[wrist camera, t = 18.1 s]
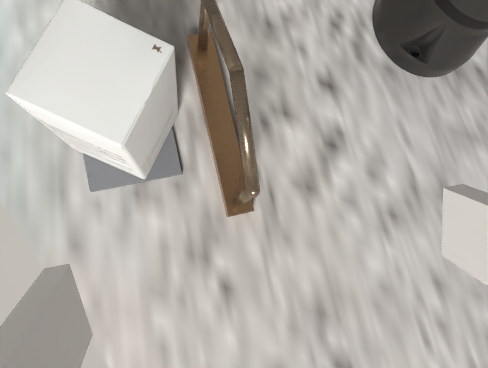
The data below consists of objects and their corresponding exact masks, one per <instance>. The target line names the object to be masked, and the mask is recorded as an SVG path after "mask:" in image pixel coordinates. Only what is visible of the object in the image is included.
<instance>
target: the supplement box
mask: <svg viewBox="0 0 488 368" xmlns="http://www.w3.org/2000/svg"><path fill="white" fill-rule="evenodd" d="M5 93H6V94H7V95H8V96H9V97H11V98H12V99H13V100H14V101H15V102H17V103H18V104H19V105H20V106H21V107H23V108H24V109H25V110H26V111H28V112H29V113H30V114H31V115H33V116H34V117H35V118H36V119H38V120H39V121H40V122H41V123H43V124H44V125H45V126H46V127H48V128H49V129H50V130H51V131H53V132H54V133H55V134H56V135H57V136H59V137H60V138H61V139H62V140H64V141H65V142H66V143H67V144H68V145H70V146H71V147H72V148H73V149H75V150H78V151H80V152H82V153H84V154H87V155H89V156H91V157H93V158H96V159H98V160H100V161H103V162H105V163H107V164H109V165H112V166H114V167H116V168H119V169H121V170H123V171H125V172H128V173H130V174H132V175H134V176H137V177H139V178H141V179H146V177H147V176H148V174H149V172H150V170H151V168H152V166H153V164H154V162H155V160H156V158H157V156H158V154H159V152H160V150H161V148H162V146H163V144H164V142H165V140H166V138H167V136H168V134H169V132H170V130H171V128H172V126H173V124H174V122H175V120H176V118H177V116H178V99H177V82H176V65H175V48H174V46H173V45H171V44H169V43H167V42H164V41H162V40H160V39H158V38H156V37H154V36H152V35H150V34H148V33H145V32H143V31H141V30H139V29H137V28H135V27H133V26H131V25H129V24H127V23H124V22H122V21H120V20H118V19H116V18H114V17H112V16H110V15H108V14H106V13H104V12H102V11H100V10H98V9H96V8H94V7H92V6H90V5H88V4H86V3H84V2H82V1H80V0H63V2H62V3H61V5H60V7H59V8H58V10H57V11H56V13H55V14H54V16H53V18H52V19H51V21H50V22H49V24H48V26H47V27H46V29H45V30H44V32H43V33H42V35H41V37H40V38H39V40H38V41H37V43H36V45H35V46H34V48H33V49H32V51H31V53H30V54H29V56H28V57H27V59H26V61H25V62H24V64H23V65H22V67H21V69H20V70H19V72H18V74H17V75H16V77H15V78H14V80H13V82H12V83H11V85H10V86H9V88H8V89H7V91H6V92H5Z"/></svg>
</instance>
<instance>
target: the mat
mask: <svg viewBox="0 0 488 368" xmlns="http://www.w3.org/2000/svg"><path fill="white" fill-rule="evenodd" d="M83 155H84V161H85V166H86V171H87V177H88V182H89V188H90V192H94V191H100V190H105V189H110V188H115V187H120V186H125V185H130V184H135V183H140V182H145V181H150V180H155V179H160V178H165V177H170V176H175V175H181V174H182V171H181V166H180V162H179V157H178V152H177V148H176V143H175V138H174V134H173V129H172V128H171V130H170V132H169V134H168V136H167V138H166V140H165V142H164V144H163V146H162V148H161V150H160V152H159V154H158V156H157V158H156V160H155V162H154V164H153V166H152V168H151V170H150V172H149V174H148V176H147V177H146V179H141V178H139V177H137V176H134V175H132V174H130V173H128V172H125V171H123V170H121V169H119V168H116V167H114V166H112V165H109V164H107V163H105V162H103V161H100V160H98V159H96V158H93V157H91V156H89V155H87V154H84V153H83Z"/></svg>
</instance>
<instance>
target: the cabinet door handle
mask: <svg viewBox="0 0 488 368" xmlns="http://www.w3.org/2000/svg"><path fill="white" fill-rule="evenodd" d="M210 25H211V26H212V28H213V31H214V34H215V36H216V39H217V42H218V44H219V47H220V50H221V52H222V55H223V57H224V60H225V63H226V65H227V68H228V71H229V74H230V81H231V88H232V95H233V101H234V108H235V115H236V122H237V128H238V135H239V142H240V148H239V144H238V140H237V136H236V131H235V127H234V123H233V119H232V115H231V110H230V106H229V102H228V98H227V93H226V89H225V85H224V81H223V77H222V72H221V68H220V64H219V60H218V55H217V51H216V47H215V43H214V39H213V34H212V33H209V32H210ZM187 43H188V48H189V52H190V57H191V61H192V65H193V70H194V74H195V79H196V83H197V87H198V92H199V96H200V101H201V105H202V109H203V114H204V118H205V123H206V127H207V131H208V136H209V140H210V145H211V149H212V153H213V158H214V162H215V167H216V171H217V175H218V180H219V184H220V189H221V193H222V197H223V202H224V206H225V211H226V215H227V217H230V216H235V215H239V214H244V213H248V212H252V211H254V208H253V203H252V199H253V198H254V197H256V196H258V195H259V193H260V185H259V178H258V170H257V163H256V156H255V149H254V141H253V134H252V127H251V119H250V112H249V105H248V97H247V90H246V83H245V76H244V69H243V66H242V64H241V61H240V59H239V56H238V54H237V51H236V49H235V47H234V44H233V42H232V39H231V37H230V34H229V32H228V30H227V27H226V25H225V22H224V20H223V17H222V15H221V13H220V10H219V8H218V5H217V3H216V0H201V8H200V21H199V33H198V35H189V36H187ZM240 149H241V153H240ZM241 155H242V157H241Z"/></svg>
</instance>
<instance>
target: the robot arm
mask: <svg viewBox="0 0 488 368" xmlns="http://www.w3.org/2000/svg"><path fill="white" fill-rule="evenodd" d="M373 26H374V31H375V34H376V37H377V40H378V42H379V44H380V46H381V47H382V49H383V50H384V52H385V53H386V54H387V56H388V57H389V58H390V59H391V60H392V61H393V62H394V63H395V64H397V65H398V66H399V67H401V68H402V69H404V70H406V71H408V72H410V73H412V74H415V75H418V76H423V77H438V76H443V75H446V74H448V73H450V72H452V71H453V70H455V69H456V68H458V67H460V66H461V65H463V64H464V63H466V62H467V61H468V60H469V59H470V58H471V57H472V56H473V55H474V53H475V52H476V51H477V49H478V48H479V47H480V46H481V45H482V43H483V42H484V41H485V40H486V38H487V37H488V0H376V3H375V6H374V10H373ZM442 256H443V257H445V258H446V259H448V260H449V261H451V262H453V263H454V264H456V265H457V266H459V267H460V268H462V269H463V270H465V271H466V272H468V273H469V274H471V275H472V276H474V277H475V278H477V279H478V280H480V281H481V282H483V283H484V284H486V285H487V286H488V193H486V192H483V191H481V190H478V189H475V188H472V187H469V186H467V185H464V184H460V185H455V186H451V187H446V188H443V224H442ZM92 335H93V334H92V331H91V328H90V325H89V322H88V319H87V316H86V313H85V310H84V307H83V304H82V301H81V298H80V295H79V292H78V289H77V286H76V283H75V280H74V277H73V274H72V271H71V268H70V265H69V264H66V265H61V266H56V267H51V268H46V269H44V270H43V271H42V272H41V274H40V275H39V276H38V278H37V279H36V280H35V282H34V283H33V284H32V286H31V287H30V288H29V290H28V291H27V292H26V294H25V295H24V296H23V297H22V299H21V300H20V301H19V303H18V304H17V305H16V307H15V308H14V309H13V311H12V312H11V313H10V314H9V316H8V317H7V318H6V320H5V321H4V322H3V324H2V325H1V326H0V368H80V367H81V364H82V362H83V359H84V356H85V353H86V351H87V348H88V345H89V343H90V340H91V337H92Z"/></svg>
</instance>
